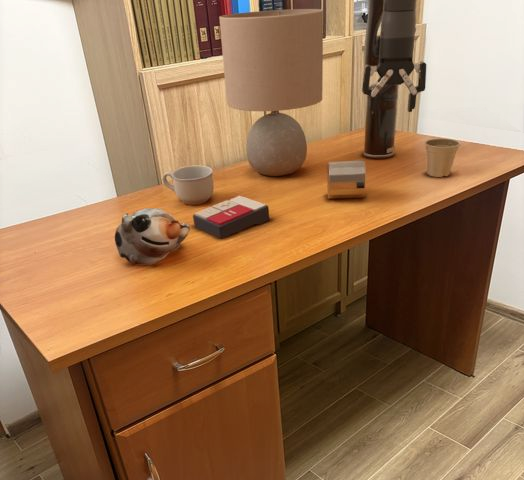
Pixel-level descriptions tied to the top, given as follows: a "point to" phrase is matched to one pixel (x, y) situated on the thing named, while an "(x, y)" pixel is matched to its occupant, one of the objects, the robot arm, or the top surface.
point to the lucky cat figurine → (149, 236)
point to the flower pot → (440, 156)
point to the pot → (346, 179)
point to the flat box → (231, 216)
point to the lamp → (273, 80)
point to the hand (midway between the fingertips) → (391, 112)
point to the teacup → (191, 183)
